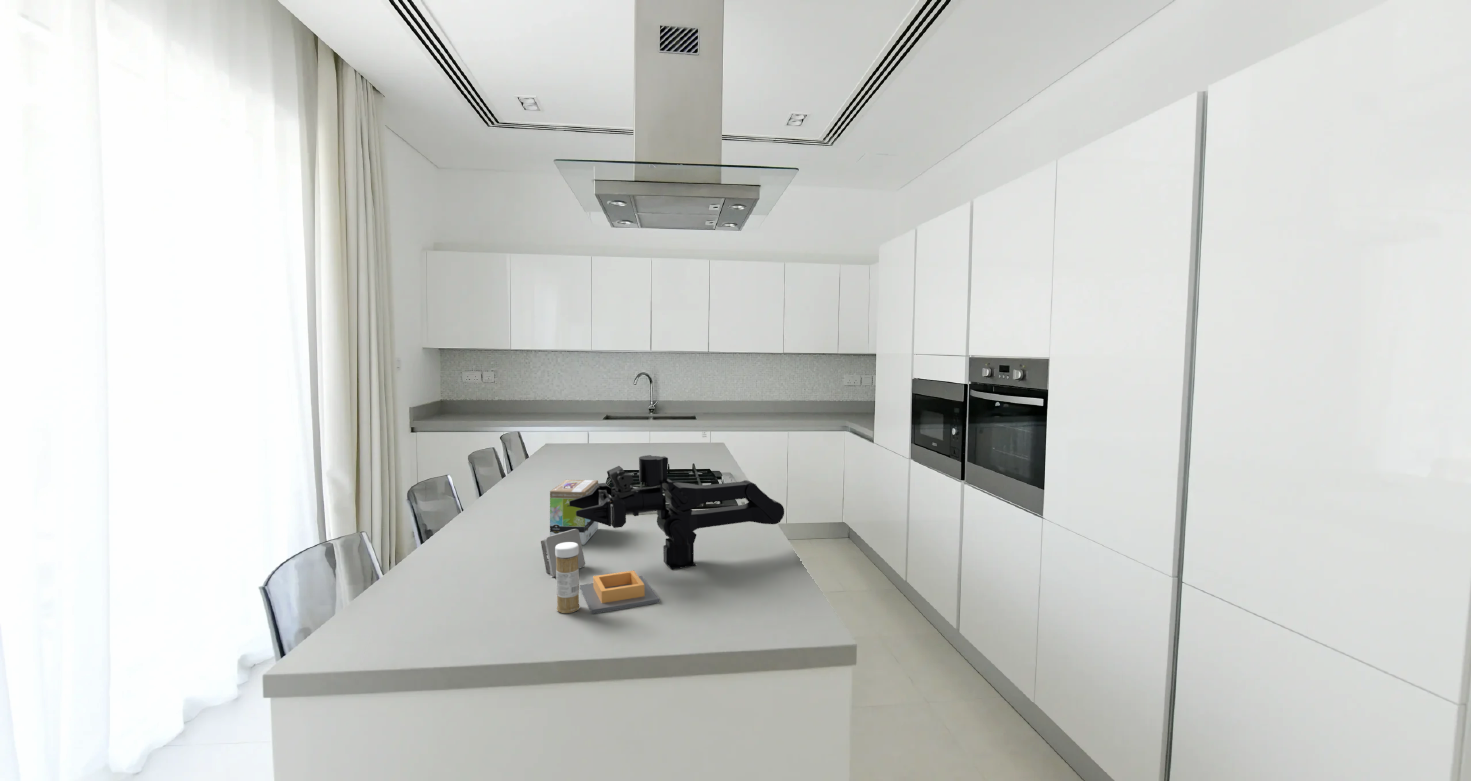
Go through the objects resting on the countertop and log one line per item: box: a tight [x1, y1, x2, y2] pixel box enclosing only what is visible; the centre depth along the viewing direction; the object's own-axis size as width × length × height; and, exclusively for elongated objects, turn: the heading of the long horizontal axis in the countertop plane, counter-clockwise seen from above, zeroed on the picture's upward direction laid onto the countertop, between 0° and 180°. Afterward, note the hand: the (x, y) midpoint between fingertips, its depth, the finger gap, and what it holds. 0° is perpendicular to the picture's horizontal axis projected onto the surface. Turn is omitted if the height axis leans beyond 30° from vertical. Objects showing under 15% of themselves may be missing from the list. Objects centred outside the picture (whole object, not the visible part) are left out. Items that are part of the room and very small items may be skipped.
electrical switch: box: [540, 529, 586, 578], centre depth 149 cm, size 9×5×9 cm, turn 141°
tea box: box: [549, 479, 599, 546], centre depth 174 cm, size 15×10×15 cm
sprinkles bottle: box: [555, 542, 580, 614], centre depth 127 cm, size 5×5×14 cm
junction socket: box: [579, 570, 660, 615], centre depth 134 cm, size 14×14×3 cm
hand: (572, 508), depth 142 cm, fingers open, 9 cm apart
